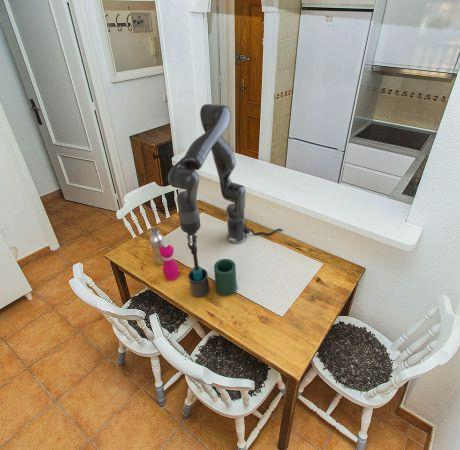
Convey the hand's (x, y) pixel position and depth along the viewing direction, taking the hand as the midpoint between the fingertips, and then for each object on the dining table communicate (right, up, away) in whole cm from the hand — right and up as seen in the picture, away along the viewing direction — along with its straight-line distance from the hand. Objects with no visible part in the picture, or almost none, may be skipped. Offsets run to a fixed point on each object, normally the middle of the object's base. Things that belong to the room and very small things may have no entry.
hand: (194, 251), depth 130 cm
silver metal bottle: (-21, -8, +30) cm, 37 cm away
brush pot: (0, -19, +14) cm, 23 cm away
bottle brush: (0, -12, +9) cm, 15 cm away
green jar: (+12, -18, +15) cm, 26 cm away
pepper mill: (-14, -14, +22) cm, 29 cm away
